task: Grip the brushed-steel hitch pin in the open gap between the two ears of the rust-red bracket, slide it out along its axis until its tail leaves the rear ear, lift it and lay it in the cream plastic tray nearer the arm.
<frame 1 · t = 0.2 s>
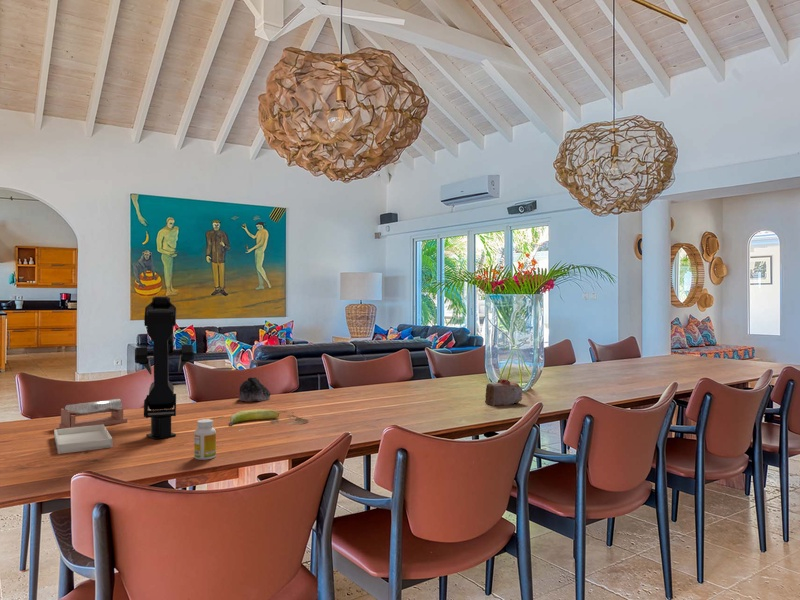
hand: (165, 372, 207), 15 cm above the table, fingers open, 9 cm apart
unripe green banana: (252, 423, 200), on the table
pin: (94, 414, 192), point 3 cm above the table, touching hitch bracket
supplement bottle: (205, 458, 156), on the table
tray: (82, 442, 170), on the table
food item: (503, 404, 234), on the table
hitch bracket: (94, 424, 192), on the table
dark grey rough lump: (254, 399, 240), on the table
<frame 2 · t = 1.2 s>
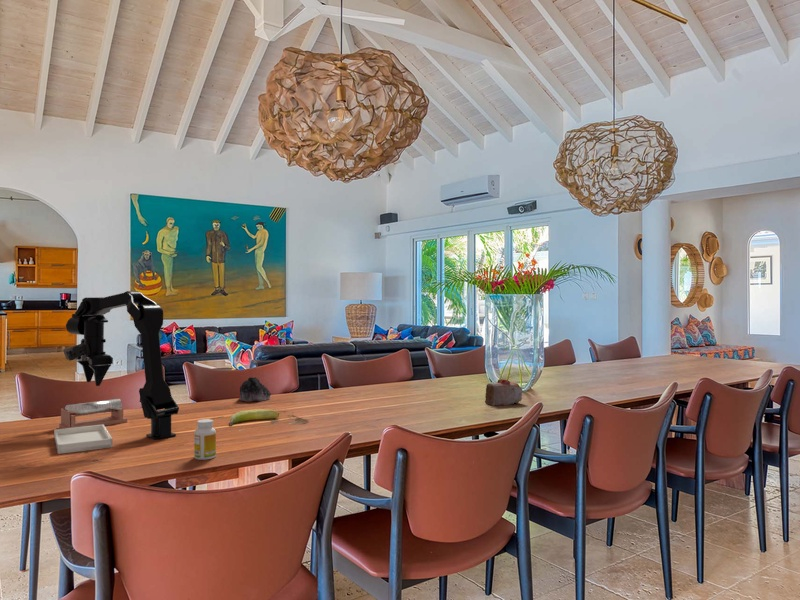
hand: (93, 383, 192), 13 cm above the table, fingers open, 9 cm apart
nothing on the table moved.
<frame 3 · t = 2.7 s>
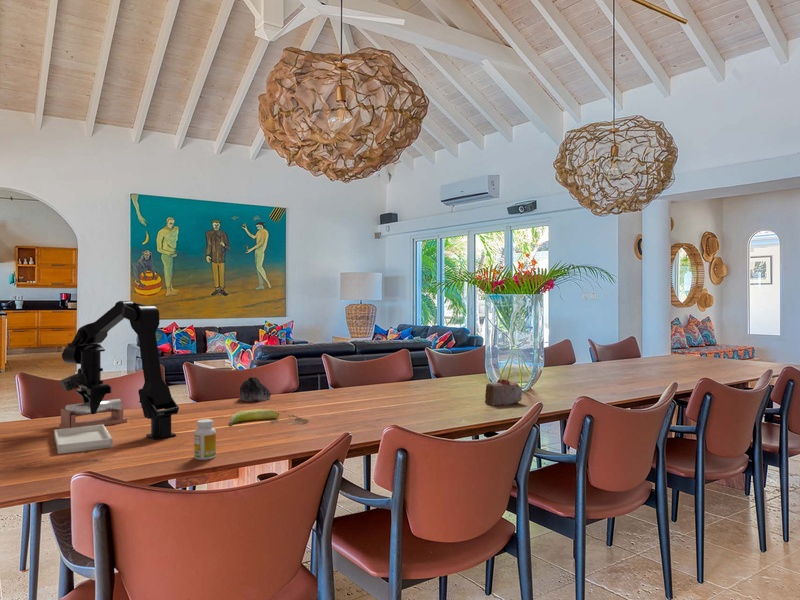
hand: (90, 413, 191), 4 cm above the table, fingers closed on pin, 4 cm apart
pin: (94, 414, 192), point 3 cm above the table, touching gripper, hitch bracket
everything else where it was.
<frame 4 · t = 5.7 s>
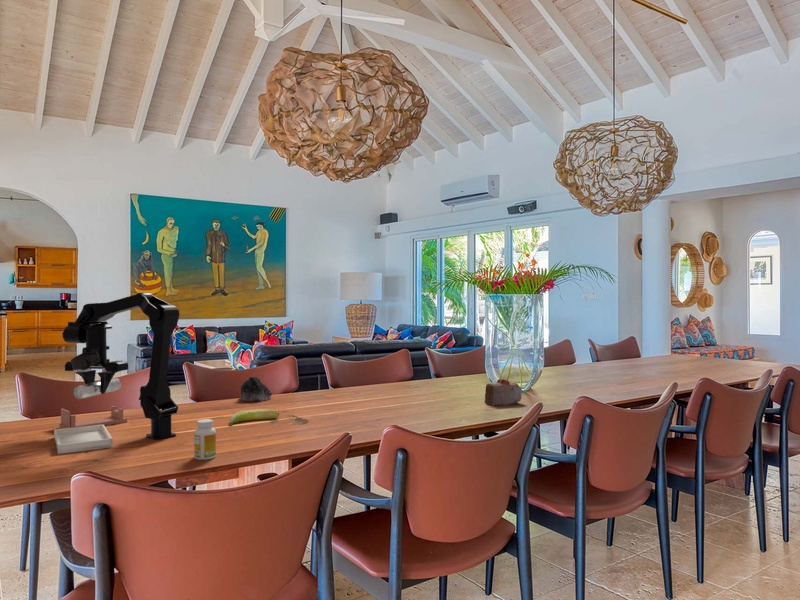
hand: (97, 393, 184), 12 cm above the table, fingers closed on pin, 4 cm apart
pin: (98, 394, 185), point 11 cm above the table, touching gripper
everything else where it was.
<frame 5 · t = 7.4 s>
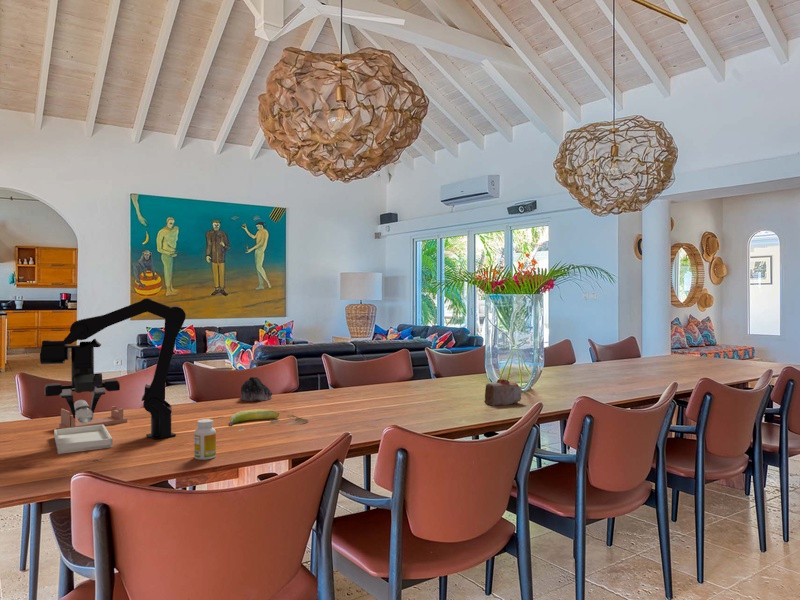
hand: (83, 417, 170), 7 cm above the table, fingers closed on pin, 4 cm apart
pin: (82, 418, 171), point 7 cm above the table, touching gripper
everything else where it was.
when the fingers open (3 cm above the table, at t = 8.5 s): pin drops 1 cm, resting on tray.
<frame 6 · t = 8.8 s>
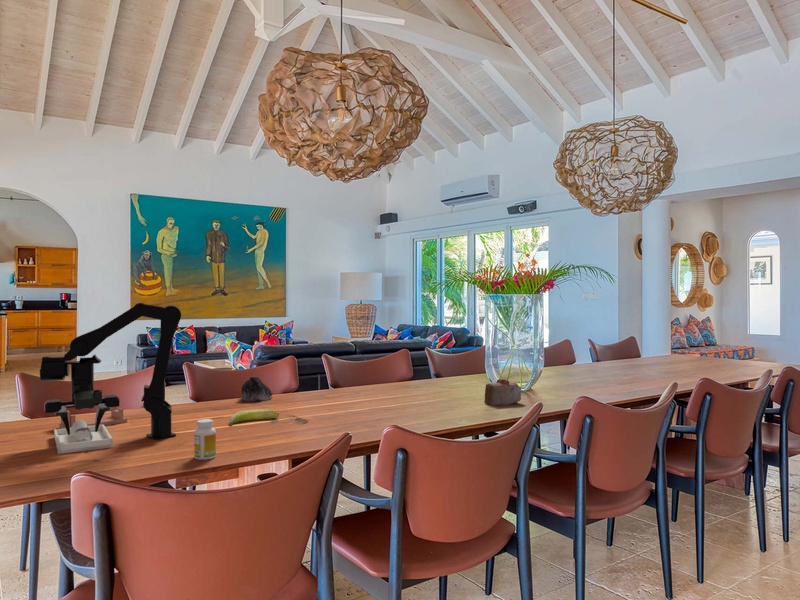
hand: (82, 433, 170), 3 cm above the table, fingers open, 7 cm apart
pin: (82, 439, 171), point 1 cm above the table, tilted 5°, touching tray
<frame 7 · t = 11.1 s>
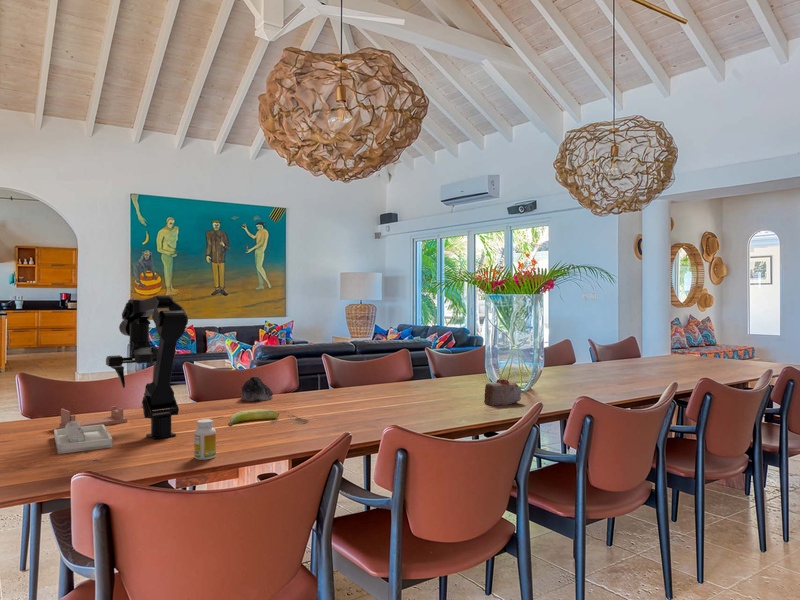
hand: (139, 386, 191), 13 cm above the table, fingers open, 9 cm apart
pin: (81, 436, 170), point 2 cm above the table, tilted 56°, touching tray
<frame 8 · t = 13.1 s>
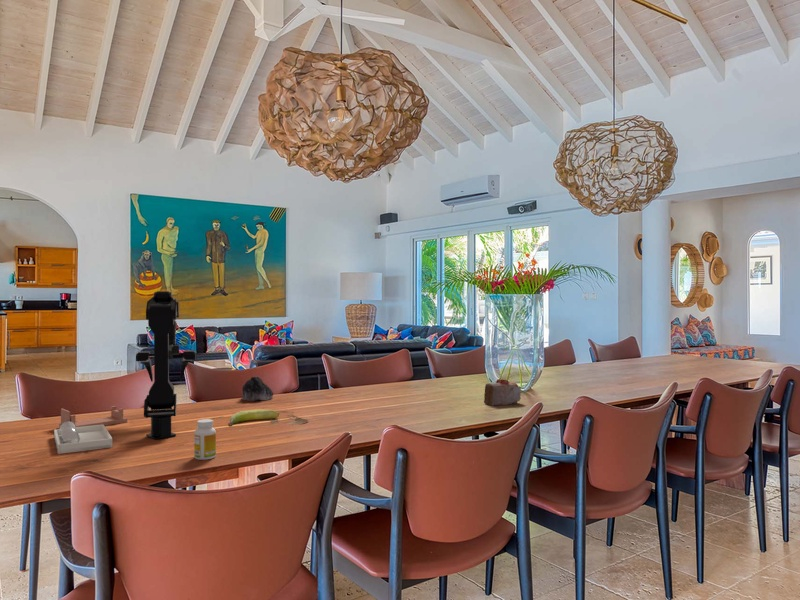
hand: (166, 381, 201), 13 cm above the table, fingers open, 9 cm apart
pin: (77, 432, 170), point 3 cm above the table, tilted 95°, touching tray
at the end: pin inside the target area on the tray (1.4 cm from its centre), point 3.0 cm above the tray's base; pin touching tray; the gripper is holding nothing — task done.
